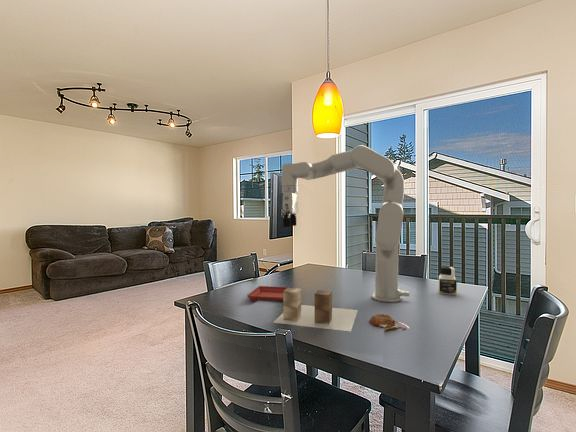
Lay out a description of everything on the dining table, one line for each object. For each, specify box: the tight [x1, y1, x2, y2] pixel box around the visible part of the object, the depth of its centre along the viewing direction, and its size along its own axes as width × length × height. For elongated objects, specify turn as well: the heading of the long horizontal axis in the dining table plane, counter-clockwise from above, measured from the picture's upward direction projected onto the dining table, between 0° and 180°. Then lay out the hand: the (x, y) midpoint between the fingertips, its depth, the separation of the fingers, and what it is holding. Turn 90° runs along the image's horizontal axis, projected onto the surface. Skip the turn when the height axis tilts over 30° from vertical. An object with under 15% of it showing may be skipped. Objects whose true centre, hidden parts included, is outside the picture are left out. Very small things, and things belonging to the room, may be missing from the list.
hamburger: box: [369, 313, 410, 331], centre depth 110 cm, size 14×14×6 cm
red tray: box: [247, 285, 291, 303], centre depth 145 cm, size 18×18×3 cm
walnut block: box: [314, 289, 333, 325], centre depth 111 cm, size 5×5×10 cm
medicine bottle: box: [438, 265, 458, 296], centre depth 153 cm, size 7×7×12 cm
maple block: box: [282, 287, 302, 321], centre depth 115 cm, size 5×5×10 cm
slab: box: [272, 304, 359, 332], centre depth 117 cm, size 26×22×1 cm
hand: (289, 226), depth 155 cm, fingers open, 9 cm apart
